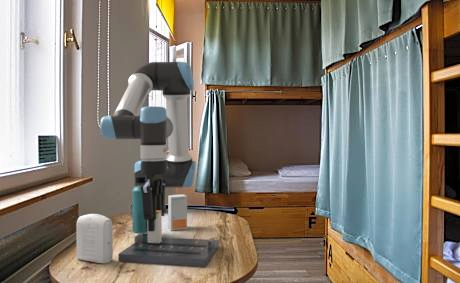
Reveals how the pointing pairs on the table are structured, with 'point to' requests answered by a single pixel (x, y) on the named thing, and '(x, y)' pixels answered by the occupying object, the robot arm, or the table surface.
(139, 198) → the beverage bottle
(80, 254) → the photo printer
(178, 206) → the skincare box
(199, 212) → the table surface
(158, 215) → the fader
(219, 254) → the table surface
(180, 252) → the console
